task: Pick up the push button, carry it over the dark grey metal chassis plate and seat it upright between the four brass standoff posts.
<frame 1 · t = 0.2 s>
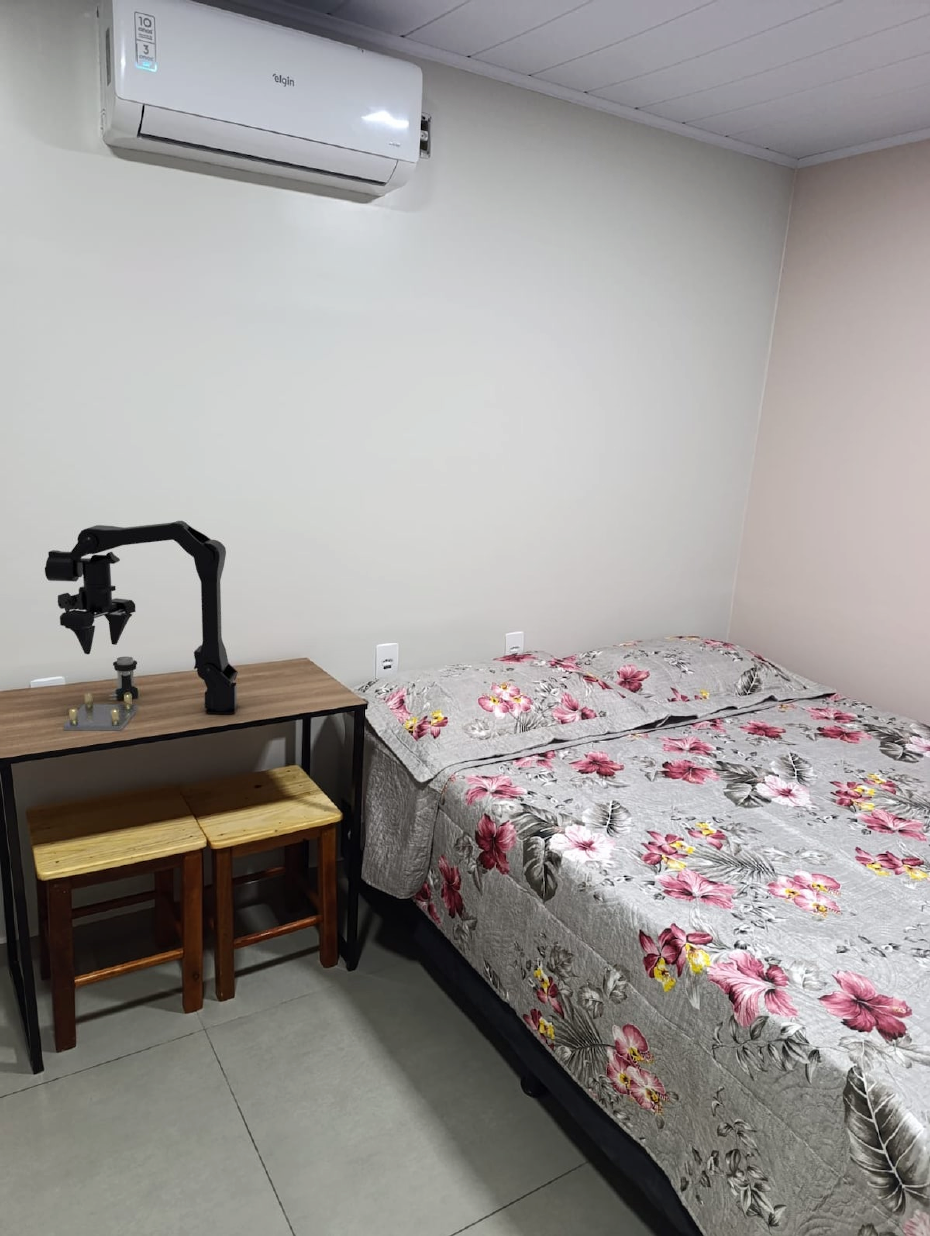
hand: (101, 649, 195), 14 cm above the table, fingers open, 9 cm apart
push button: (123, 700, 204), on the table
chassis: (102, 719, 190), on the table
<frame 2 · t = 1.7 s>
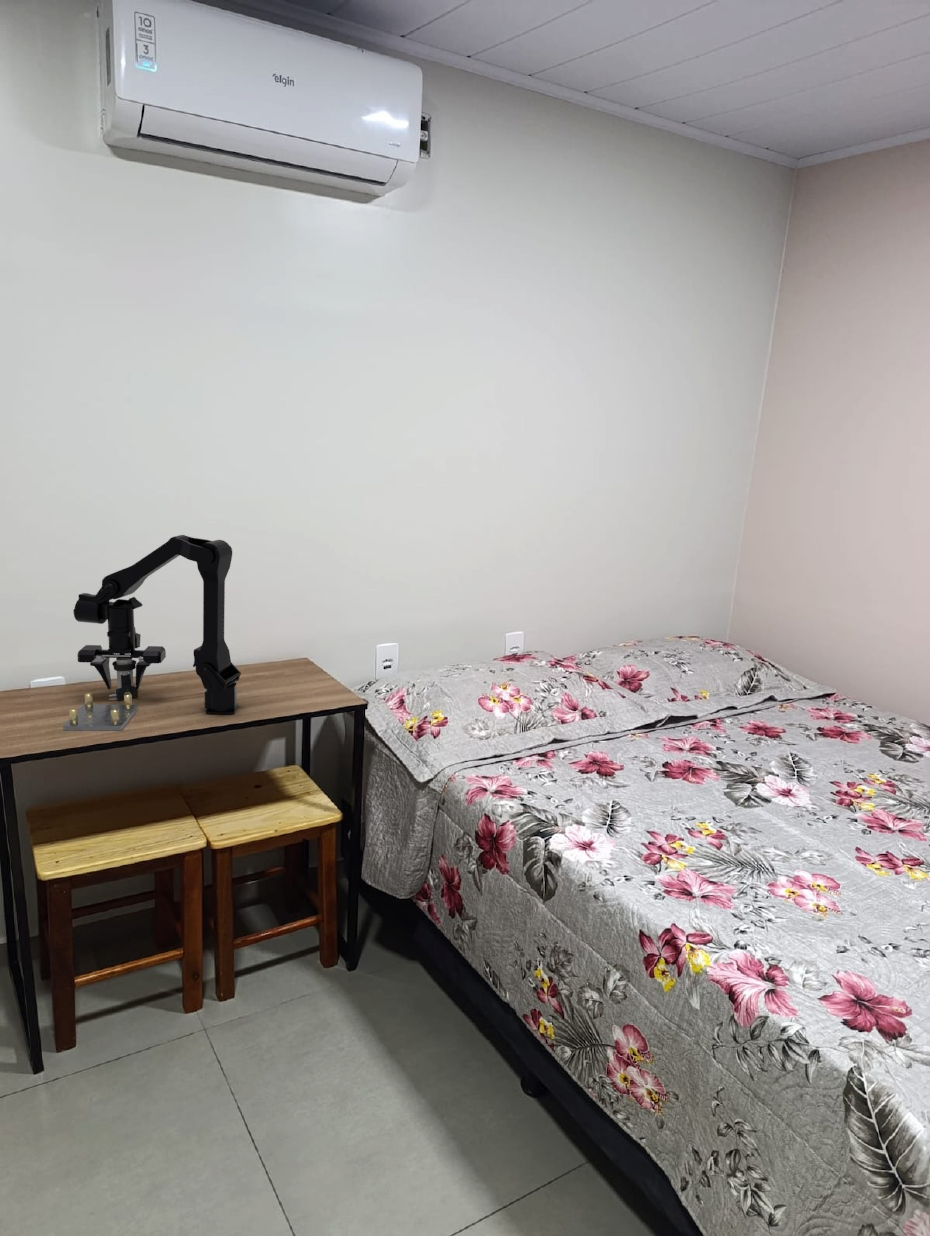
hand: (123, 688, 204), 3 cm above the table, fingers open, 6 cm apart
push button: (123, 699, 204), on the table, touching gripper
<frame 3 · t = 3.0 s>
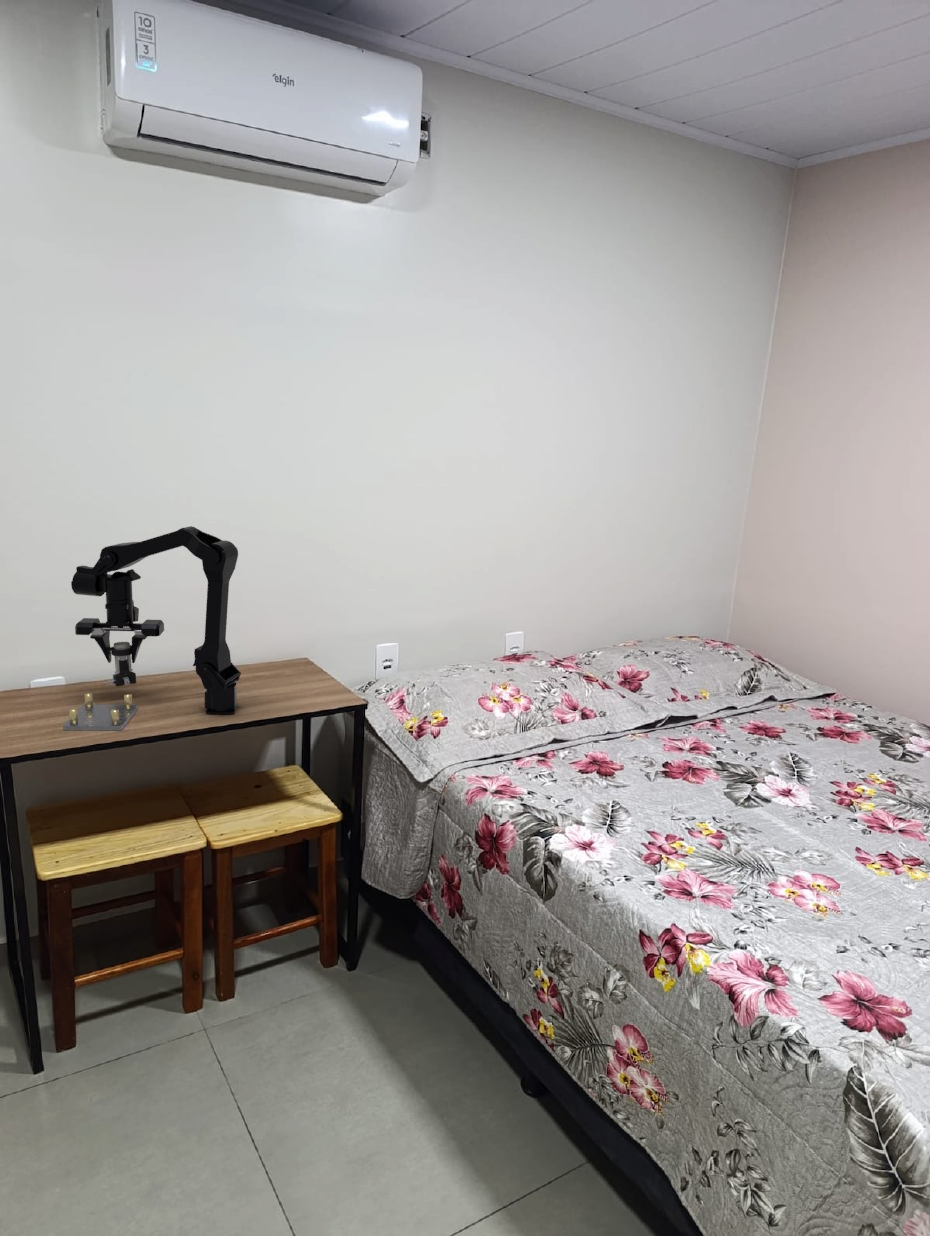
hand: (121, 662, 202), 9 cm above the table, fingers closed on push button, 5 cm apart
push button: (121, 685, 203), point 3 cm above the table, touching gripper
when the fingers open (6 cm above the table, at t = 5.4 s): push button stays where it is, resting on chassis.
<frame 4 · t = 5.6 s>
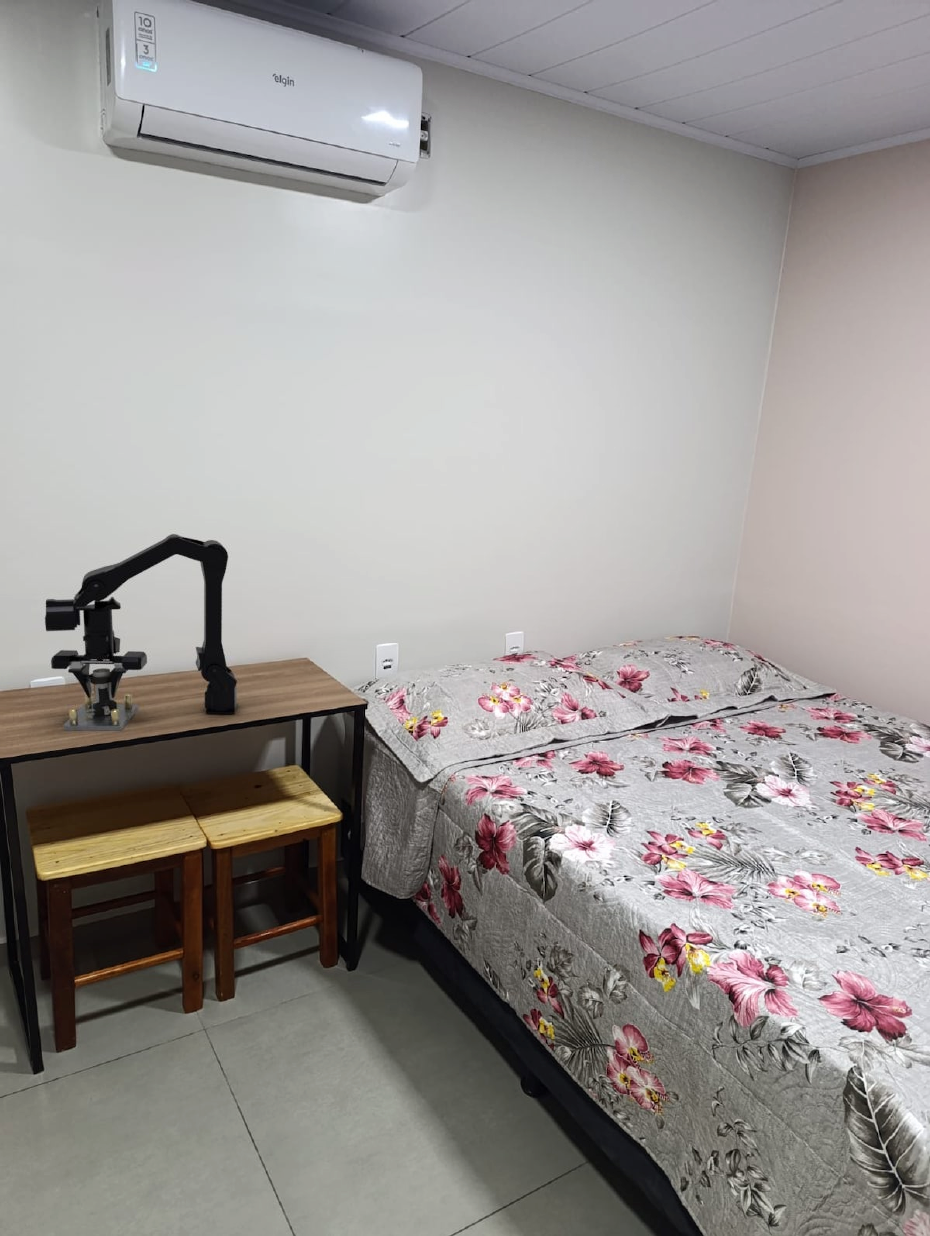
hand: (101, 697, 189), 5 cm above the table, fingers open, 5 cm apart
push button: (101, 715, 190), point 1 cm above the table, touching chassis, gripper
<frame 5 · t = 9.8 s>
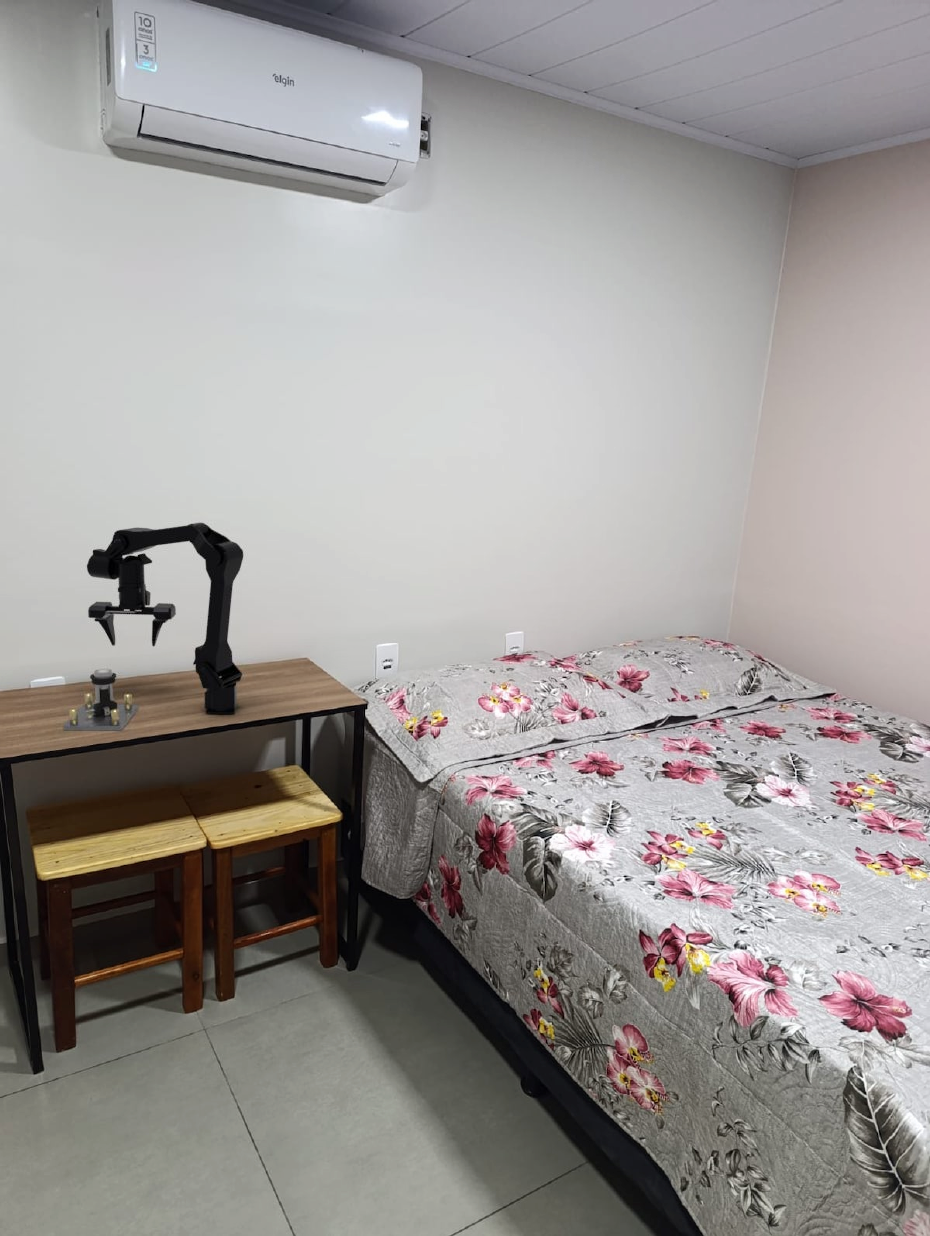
hand: (133, 645, 204), 12 cm above the table, fingers open, 9 cm apart
push button: (101, 715, 190), point 1 cm above the table, touching chassis
at the end: push button 0.2 cm off-centre on the chassis, point 0.8 cm above the chassis's base; push button tilted 0°; the gripper is holding nothing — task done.
